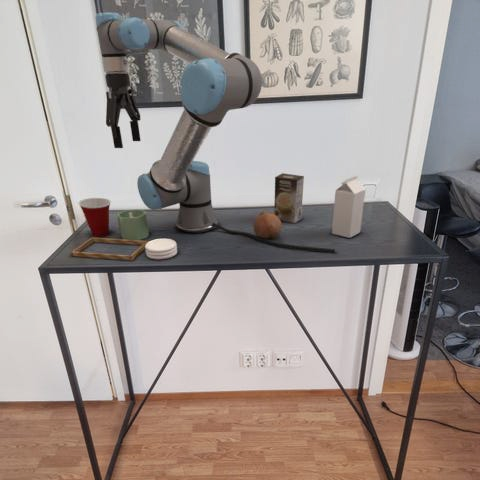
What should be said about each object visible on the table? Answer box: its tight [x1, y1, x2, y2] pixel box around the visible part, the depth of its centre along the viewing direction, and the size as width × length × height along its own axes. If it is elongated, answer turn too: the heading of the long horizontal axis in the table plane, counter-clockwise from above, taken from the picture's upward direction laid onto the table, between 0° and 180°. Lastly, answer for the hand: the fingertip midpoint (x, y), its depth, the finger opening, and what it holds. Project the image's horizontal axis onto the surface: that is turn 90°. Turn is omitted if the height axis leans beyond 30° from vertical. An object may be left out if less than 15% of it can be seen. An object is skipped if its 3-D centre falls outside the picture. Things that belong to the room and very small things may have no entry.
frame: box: [70, 237, 149, 261], centre depth 139 cm, size 21×13×1 cm, turn 76°
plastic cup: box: [78, 197, 112, 238], centre depth 150 cm, size 11×11×12 cm
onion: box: [253, 211, 283, 241], centre depth 142 cm, size 10×9×10 cm
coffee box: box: [273, 172, 305, 224], centre depth 157 cm, size 9×6×16 cm
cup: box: [117, 209, 150, 241], centre depth 148 cm, size 10×10×8 cm
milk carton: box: [331, 174, 366, 239], centre depth 141 cm, size 7×7×19 cm
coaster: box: [144, 238, 178, 261], centre depth 135 cm, size 10×10×4 cm
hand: (128, 144), depth 145 cm, fingers open, 13 cm apart
